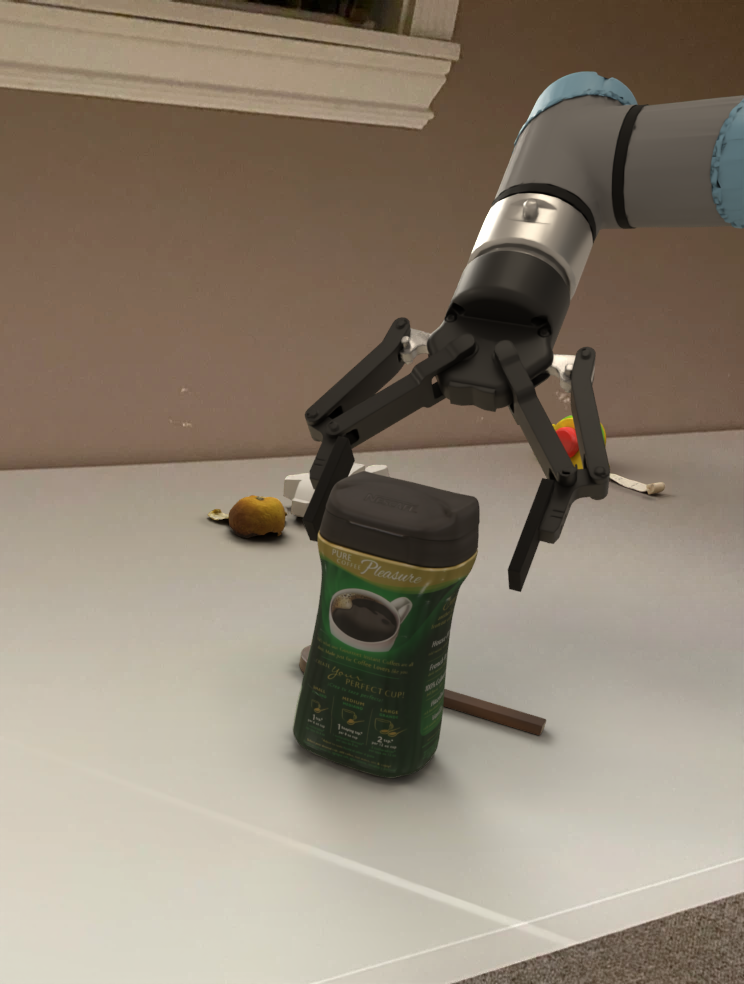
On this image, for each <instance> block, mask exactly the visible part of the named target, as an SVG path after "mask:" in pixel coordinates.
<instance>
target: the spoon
mask: <svg viewBox="0 0 744 984" xmlns="http://www.w3.org/2000/svg"><path fill="white" fill-rule="evenodd" d="M310 647H311V644H310V645H307V646H305V647H304V648H303V649H301V652H300V655H299V662H298V663H299V669H300V670H301V671H302V672H303V673H304V672H305V668H306V664H307V660H308V655H309V651H310ZM443 708H448V709H451V710H454V711H457V712H461V713H464V714H467V715H470V716H474V717H477V718H480V719H482V720H483V719H484V720H486V721H487V720H488V721H491V722H493V723H497V724H500V725H503V726H507V727H510V728H514V729H517V730H518V731H519V730H520V731H524V732H525V733H530V734H533V735H536V736H541V735H542V733H543V731H544V729H545V726H546V723H547V718H544V717H540V716H537V715H534V714H530V713H528V712H524V711H522V710H521V711H520V710H518V709H515V708H510V707H507V706H504V705H500V704H498V703H494V702H490V701H487V700H485V699H480V698H478V697H473V696H471V695H467V694H464V693H460V692H457V691H454V690H450V689H446V688H445V690H444V702H443Z"/></svg>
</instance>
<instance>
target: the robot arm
mask: <svg viewBox="0 0 744 984" xmlns="http://www.w3.org/2000/svg"><path fill="white" fill-rule="evenodd" d="M517 134H518V135H517V137H516V139H515V141H514V142H513V146H514V147H513V150H512V152H511V157H510V159H509V162H508V164H507V166H506V169H505V172H504V174H503V176H502V179H501V182H500V185H499V188H498V189H497V192H496V194H495V197H494V199H493V200H492V203H491V206H490V209H489V211H488V213H487V215H486V216H485V218H484V221H483V223H482V226H481V228H480V231H479V233H478V235H477V238H476V241H475V243H474V245H473V248H472V250H471V253H470V255H469V258H468V261H467V263H466V266H465V268H464V269H463V271H462V273H461V276H460V278H459V280H458V281H459V282H458V283H457V285H456V288H455V290H454V293H453V295H452V298H451V300H450V302H449V305H448V307H447V310H446V312H445V315H444V318H443V321H442V323H441V324H440V325H439V326H438V327H437V328H436V329H435V330H434V331H432V332H427V331H423V330H420V329H415V328H412V327H411V321H410V320H409V318H407V317H404V316H401V317H398V318H396V319H394V321H392V323H391V324H390V327H389V328H388V330H387V332H386V334H385V336H384V337H383V338H382V341H381V342H380V343H379V344H378V345H377V346H376V347H374V348H373V349H372V350H371V351H370V352H369V353H368V354H367V355H365V357H363V358H362V359H361V360H360V361H359V362H358V363H357V364H356V365H355V366H354V367H353V368H351V369H350V370H349V371H348V372H347V373H346V374H345V375H343V376H342V377H341V378H340V379H339V380H338V381H337V382H336V383H335V384H334V385H333V386H331V387H330V388H329V389H328V390H327V391H326V392H325V393H323V395H321V397H319V398H318V399H317V400H316V401H314V402H313V404H311V405H310V406H309V407H308V408H307V409H306V410H305V412H304V418H305V422H306V425H307V427H308V430H309V434H310V438H311V439H312V440H313V441H315V442H316V443H317V442H318V443H319V442H321V444H320V446H319V448H318V450H317V453H316V455H315V457H314V460H313V462H312V465H311V466H310V469H309V472H308V473H309V478H310V481H311V484H312V487H313V489H315V491H314V493H313V496H312V498H311V500H310V503H309V505H308V507H307V510H306V512H305V514H304V517H303V518H302V519H301V521H302V524H303V527H304V528H305V531H306V534H307V536H308V539H309V541H312V542H316V543H318V541H317V540H318V533H319V530H320V526H321V522H322V518H323V515H324V512H325V509H326V503H327V501H328V498H329V495H330V493H331V490H332V488H333V487H334V485H335V484H336V483H337V482H339V481H340V480H342V479H344V478H346V477H348V476H349V473H350V471H351V469H352V466H353V464H354V463H356V462H355V461H356V460H355V459H356V458H355V456H354V452H353V449H354V448H356V447H358V446H359V445H361V444H363V443H364V442H365V443H366V442H367V441H368V440H370V439H372V438H373V437H375V436H377V435H378V434H380V433H381V432H383V431H384V430H386V429H388V428H390V427H392V426H393V425H395V424H397V423H399V422H401V421H402V420H403V419H405V418H407V417H408V416H411V414H413V413H415V412H417V411H418V410H420V409H423V408H426V409H430V408H432V407H433V406H435V405H437V404H439V403H440V402H442V401H444V400H445V399H448V400H449V403H450V404H451V405H453V406H455V405H456V406H460V407H465V406H469V407H470V406H475V407H477V408H479V409H481V410H483V411H488V412H493V413H496V412H497V410H498V409H504V408H506V407H507V408H508V410H509V412H510V414H511V416H512V417H513V420H514V422H515V424H516V425H517V426H519V427H520V429H521V430H522V433H523V435H524V437H525V439H526V440H527V443H528V445H529V447H530V449H531V450H532V452H533V454H534V456H535V458H536V461H537V462H538V464H539V466H540V468H541V470H542V472H543V474H544V476H545V478H544V477H542V478H541V480H540V483H539V485H538V488H537V491H536V493H535V496H534V499H533V502H532V504H531V507H530V510H529V511H528V514H527V517H526V520H525V522H524V525H523V528H522V531H521V533H520V536H519V539H518V541H517V543H516V546H515V549H514V552H513V554H512V557H511V560H510V562H509V565H508V568H507V577H508V578H507V580H508V590H511V591H514V592H519V593H522V590H523V587H524V585H525V582H526V580H527V577H528V575H529V571H530V569H531V566H532V563H533V561H534V558H535V555H536V552H537V551H538V547H539V545H540V542H543V543H547V544H552V545H554V544H555V543H556V542H557V541H558V540H559V539H560V537H561V534H562V532H563V529H564V527H565V524H566V521H567V518H568V515H569V512H570V510H571V508H572V505H573V503H574V502H575V501H578V500H579V499H584V498H590V499H592V500H593V501H594V500H595V501H601V500H604V499H605V498H606V497H607V496H608V494H609V487H610V480H611V478H610V474H611V466H610V467H609V465H610V463H609V458H608V453H607V447H606V448H605V443H604V438H603V434H602V429H601V424H602V423H601V421H600V416H599V411H598V406H597V400H596V397H595V392H594V388H593V386H594V385H593V384H594V380H595V371H596V370H595V369H596V358H597V357H596V354H597V353H596V350H595V349H594V348H593V347H590V346H583V347H580V348H579V349H578V350H577V351H576V353H575V354H560V353H554V350H553V349H554V347H555V345H556V342H557V339H558V337H559V335H560V331H561V329H562V326H563V324H564V321H565V319H566V316H567V313H568V311H569V308H570V305H571V302H572V299H573V297H574V296H575V294H576V291H577V288H578V286H579V283H580V280H581V277H582V276H583V273H584V270H585V267H586V264H587V262H588V259H589V257H590V254H591V251H592V249H593V246H594V243H595V241H596V239H597V237H598V235H599V233H600V231H601V230H608V229H609V230H618V229H619V230H620V229H622V230H633V229H637V228H638V229H640V228H641V229H642V228H644V229H645V228H713V227H714V228H716V227H732V228H735V229H741V230H742V229H744V94H743V95H733V96H723V97H714V98H705V99H696V100H695V99H694V100H687V101H677V102H670V103H660V104H647V103H646V104H638V100H637V99H636V97H635V96H634V94H633V92H632V91H631V89H630V88H629V87H628V86H627V85H625V83H623V82H622V81H621V80H619V79H618V78H615V77H610V78H608V77H605V76H602V75H599V74H598V72H596V71H577V72H573V73H569V74H567V75H564V76H562V77H560V78H558V79H557V80H555V81H553V82H552V83H551V84H549V85H548V86H547V87H546V88H545V89H544V90H543V92H542V93H541V94H540V95H539V96H538V98H537V100H536V101H535V104H534V106H533V107H532V110H531V111H530V114H529V116H528V118H527V120H526V122H525V123H524V124H523V125H522V126H521V128H520V130H519V131H518V133H517ZM422 354H427V358H425V359H422V360H421V361H420V362H418V363H417V364H415V365H414V366H413V368H412V370H411V372H410V373H408V374H407V375H405V376H403V377H401V378H400V379H398V380H397V381H395V382H393V383H392V384H389V385H388V386H386V385H387V384H388V383H389V382H390V381H391V380H393V379H394V377H396V376H397V375H398V374H399V372H400V371H401V370H402V369H403V367H404V366H405V365H408V366H409V365H412V364H413V363H414V360H415V358H416V357H418V356H420V355H422ZM551 376H552V377H553V376H554V377H556V379H558V382H559V387H560V388H561V389H562V390H563V391H564V393H566V394H570V411H571V415H572V417H573V422H574V426H575V431H576V436H577V441H578V446H579V451H580V456H581V461H582V466H583V469H578V467H577V464H575V467H574V465H573V463H572V461H571V459H570V457H569V456H568V454H567V452H566V450H565V448H564V446H563V444H562V442H561V440H560V439H559V437H558V435H557V433H556V431H555V429H554V427H553V425H552V424H553V423H552V421H551V420H550V418H549V417H548V414H547V412H546V411H545V409H544V406H543V405H542V403H541V401H540V399H539V397H538V395H537V391H536V388H537V387H538V386H540V385H542V384H543V383H544V382H545V381H547V380H548V379H549V378H550V377H551ZM434 378H435V379H436V381H435V382H434V383H433V379H434ZM385 386H386V387H385ZM384 387H385V388H384ZM600 423H601V424H600Z"/></svg>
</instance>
